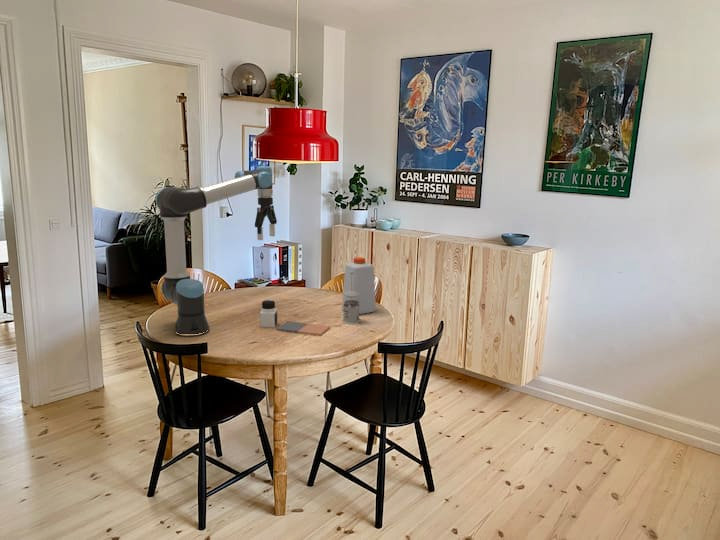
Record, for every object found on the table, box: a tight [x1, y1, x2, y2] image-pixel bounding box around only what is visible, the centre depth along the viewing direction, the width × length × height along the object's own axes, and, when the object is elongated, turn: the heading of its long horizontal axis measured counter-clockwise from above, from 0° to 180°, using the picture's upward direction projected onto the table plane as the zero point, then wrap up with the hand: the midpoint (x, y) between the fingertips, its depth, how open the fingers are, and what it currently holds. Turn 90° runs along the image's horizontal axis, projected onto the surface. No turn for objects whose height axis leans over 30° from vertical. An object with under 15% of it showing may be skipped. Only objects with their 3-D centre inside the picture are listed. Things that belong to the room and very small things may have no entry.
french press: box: [341, 271, 362, 325], centre depth 267 cm, size 10×12×25 cm
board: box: [275, 320, 331, 337], centre depth 255 cm, size 12×22×1 cm, turn 71°
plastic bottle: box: [341, 256, 377, 315], centre depth 283 cm, size 15×15×28 cm
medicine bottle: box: [259, 299, 278, 328], centre depth 259 cm, size 7×7×12 cm
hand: (266, 238), depth 283 cm, fingers open, 13 cm apart
